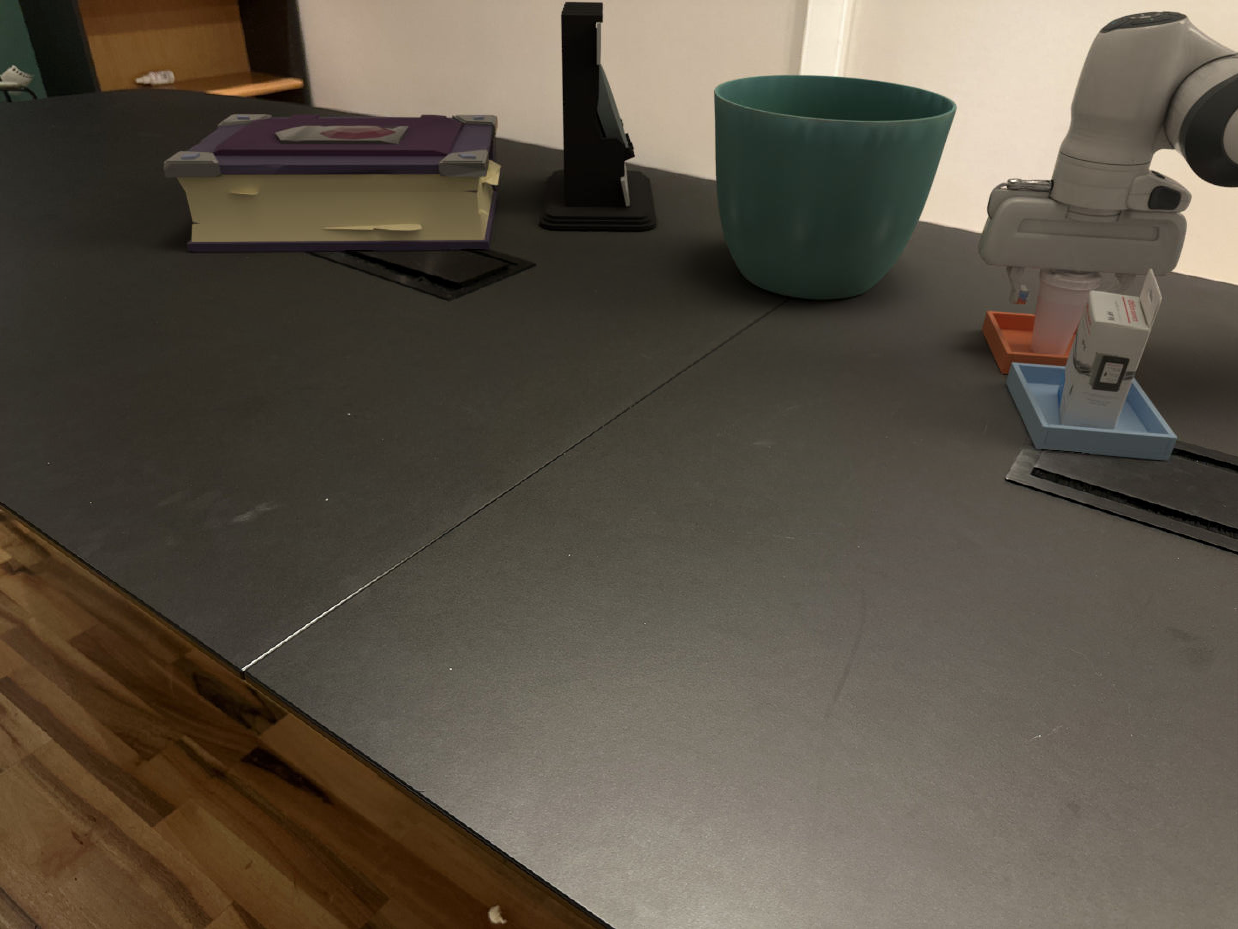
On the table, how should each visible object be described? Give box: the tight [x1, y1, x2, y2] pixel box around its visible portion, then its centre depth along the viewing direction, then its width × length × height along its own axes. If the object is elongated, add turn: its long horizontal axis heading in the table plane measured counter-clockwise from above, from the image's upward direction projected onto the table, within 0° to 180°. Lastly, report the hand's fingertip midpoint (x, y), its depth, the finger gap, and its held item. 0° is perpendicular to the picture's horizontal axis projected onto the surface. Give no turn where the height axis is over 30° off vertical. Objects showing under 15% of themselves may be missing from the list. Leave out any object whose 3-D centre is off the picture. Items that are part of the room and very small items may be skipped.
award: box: [539, 1, 658, 231], centre depth 146 cm, size 30×19×30 cm, turn 1°
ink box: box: [1058, 269, 1163, 430], centre depth 89 cm, size 9×5×15 cm, turn 160°
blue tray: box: [1005, 362, 1178, 462], centre depth 92 cm, size 12×14×3 cm
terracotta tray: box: [981, 310, 1081, 375], centre depth 105 cm, size 12×12×3 cm
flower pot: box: [713, 74, 958, 300], centre depth 120 cm, size 30×30×24 cm
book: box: [163, 113, 502, 253], centre depth 142 cm, size 33×45×14 cm
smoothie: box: [1031, 268, 1102, 355], centre depth 102 cm, size 6×6×14 cm
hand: (1059, 305), depth 102 cm, fingers open, 8 cm apart
